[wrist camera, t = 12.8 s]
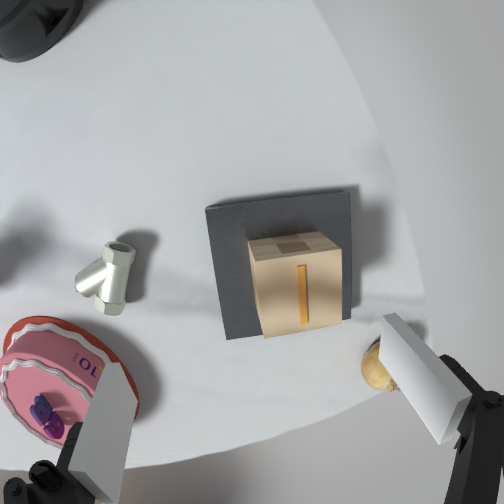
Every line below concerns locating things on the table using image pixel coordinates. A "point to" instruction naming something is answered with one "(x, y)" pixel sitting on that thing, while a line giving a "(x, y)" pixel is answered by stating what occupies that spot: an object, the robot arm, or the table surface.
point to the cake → (52, 375)
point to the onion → (376, 370)
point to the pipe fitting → (108, 278)
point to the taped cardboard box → (296, 282)
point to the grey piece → (267, 226)
